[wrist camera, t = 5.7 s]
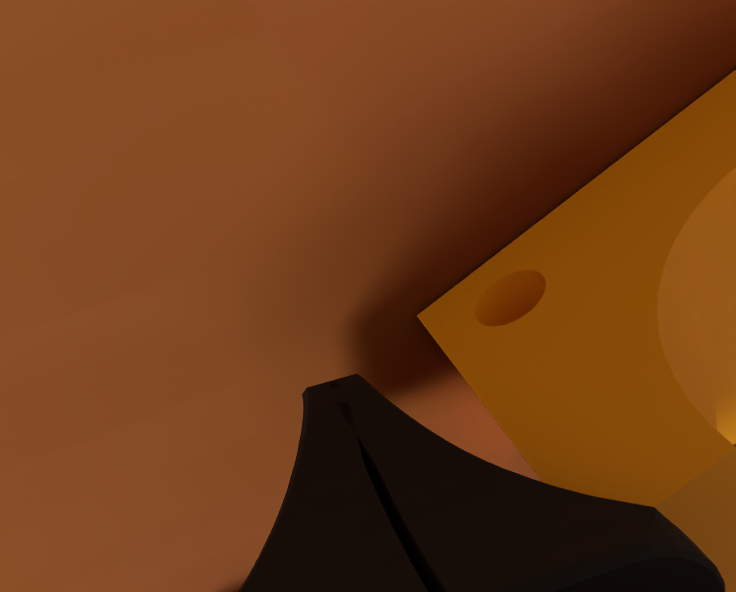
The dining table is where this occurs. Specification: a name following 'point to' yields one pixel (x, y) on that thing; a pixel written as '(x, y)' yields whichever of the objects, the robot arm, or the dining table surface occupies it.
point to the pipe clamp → (622, 331)
